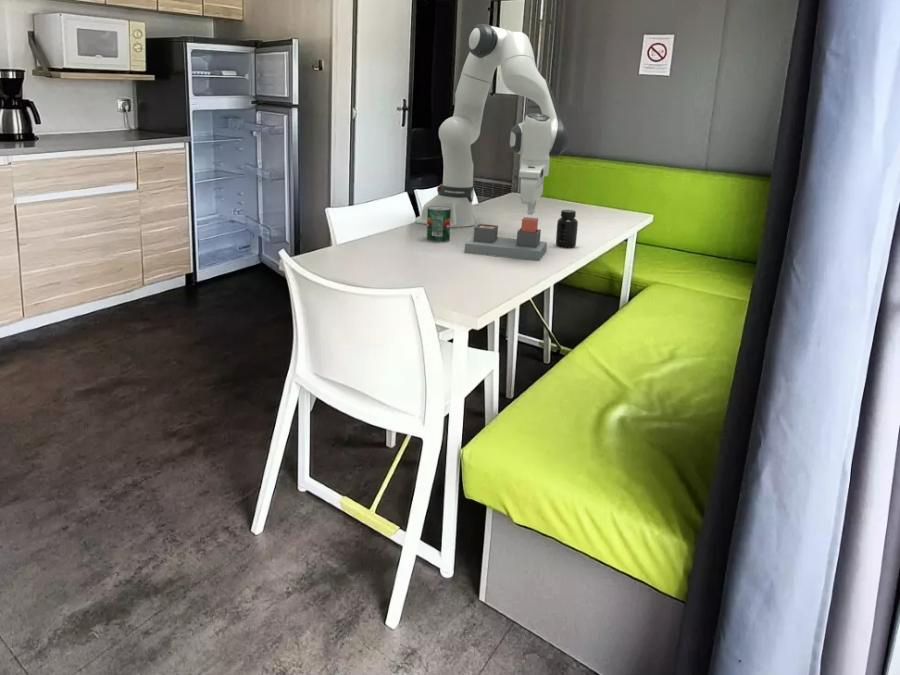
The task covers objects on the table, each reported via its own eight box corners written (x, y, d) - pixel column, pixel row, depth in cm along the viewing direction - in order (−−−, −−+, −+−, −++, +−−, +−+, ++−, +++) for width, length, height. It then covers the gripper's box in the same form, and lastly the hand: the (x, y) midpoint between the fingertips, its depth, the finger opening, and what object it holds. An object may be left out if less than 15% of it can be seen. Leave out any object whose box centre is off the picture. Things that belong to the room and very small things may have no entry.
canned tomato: (423, 237, 246) (424, 205, 242) (445, 236, 248) (446, 205, 244) (430, 243, 239) (432, 210, 235) (453, 242, 241) (454, 209, 237)
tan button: (477, 240, 230) (477, 227, 229) (480, 237, 234) (481, 225, 233) (490, 241, 229) (491, 229, 228) (493, 238, 233) (494, 226, 232)
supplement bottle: (561, 242, 247) (565, 208, 243) (579, 246, 243) (583, 211, 239) (551, 246, 242) (554, 210, 237) (568, 249, 238) (572, 213, 233)
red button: (521, 232, 225) (521, 219, 224) (523, 229, 229) (524, 217, 228) (534, 233, 224) (535, 220, 223) (537, 230, 228) (538, 218, 227)
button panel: (464, 252, 228) (465, 229, 225) (475, 243, 240) (476, 221, 238) (539, 260, 222) (541, 236, 219) (546, 250, 234) (548, 227, 232)
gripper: (530, 164, 230) (526, 207, 235) (518, 172, 212) (514, 218, 216) (549, 166, 229) (545, 209, 233) (539, 173, 210) (535, 220, 215)
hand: (530, 213), depth 225 cm, fingers closed
